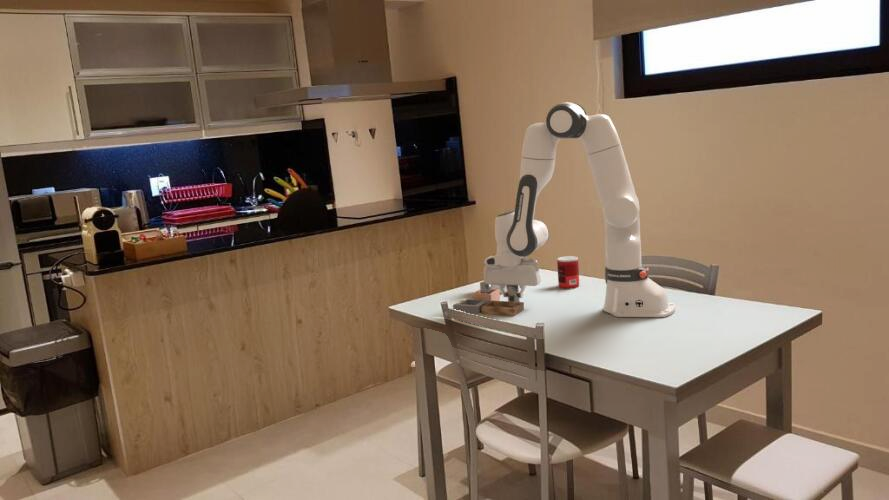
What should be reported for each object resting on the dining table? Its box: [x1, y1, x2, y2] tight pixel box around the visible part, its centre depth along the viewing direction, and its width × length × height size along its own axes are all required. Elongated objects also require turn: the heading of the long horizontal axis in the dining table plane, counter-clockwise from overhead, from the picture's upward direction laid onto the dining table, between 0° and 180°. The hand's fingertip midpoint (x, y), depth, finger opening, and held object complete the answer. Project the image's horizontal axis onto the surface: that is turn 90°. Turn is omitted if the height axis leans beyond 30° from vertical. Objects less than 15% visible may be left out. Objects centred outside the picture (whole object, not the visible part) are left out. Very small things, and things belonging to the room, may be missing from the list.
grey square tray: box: [452, 297, 490, 315], centre depth 238 cm, size 10×9×3 cm
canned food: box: [556, 255, 580, 290], centre depth 258 cm, size 8×8×11 cm
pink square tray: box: [472, 288, 501, 301], centre depth 245 cm, size 7×7×4 cm
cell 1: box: [479, 280, 492, 294], centre depth 245 cm, size 4×4×8 cm
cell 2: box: [507, 285, 521, 302], centre depth 237 cm, size 4×4×8 cm
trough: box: [481, 300, 525, 317], centre depth 231 cm, size 12×8×3 cm, turn 60°
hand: (513, 297), depth 238 cm, fingers closed on cell 2, 4 cm apart
